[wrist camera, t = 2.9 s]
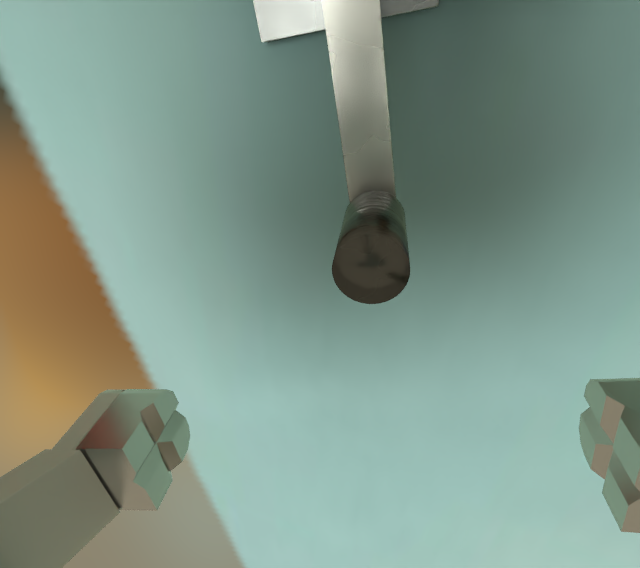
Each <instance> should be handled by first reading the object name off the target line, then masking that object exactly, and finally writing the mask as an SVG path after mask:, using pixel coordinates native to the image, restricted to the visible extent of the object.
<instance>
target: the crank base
mask: <svg viewBox="0 0 640 568" xmlns="http://www.w3.org/2000/svg"><path fill="white" fill-rule="evenodd" d="M253 3H254V8H255V13H256V18H257V22H258V27H259V32H260V37H261V42H270V41H275V40H280V39H284V38H289V37H294V36H299V35H304V34H309V33H313V32H318V31H323V30H326V28H325V21H324V14H323V6H322V0H253ZM438 5H439V0H380V9H381V18H386V17H390V16H395V15H400V14H405V13H410V12H414V11H419V10H424V9H429V8H434V7H437V6H438Z"/></svg>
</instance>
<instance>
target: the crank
mask: <svg viewBox="0 0 640 568" xmlns="http://www.w3.org/2000/svg"><path fill="white" fill-rule="evenodd" d="M322 6H323V14H324V21H325V28H326V35H327V42H328V50H329V57H330V64H331V71H332V78H333V86H334V93H335V100H336V107H337V114H338V122H339V129H340V136H341V143H342V150H343V158H344V165H345V172H346V179H347V186H348V194H349V201H350V204H349V205H348V207H347V210H346V213H345V217H344V221H343V225H342V229H341V232H340V236H339V240H338V244H337V248H336V252H335V256H334V260H333V265H332V274H333V278H334V281H335V283H336V285H337V287H338V288H339V289H340V290H341V291H342V292H343V293H344V294H345V295H346V296H347V297H349V298H351V299H353V300H355V301H358V302H361V303H367V304H376V303H382V302H386V301H388V300H390V299H392V298H394V297H396V296H397V295H398V294H399V293H400V292H401V291H402V290H403V289H404V288H405V286H406V284H407V282H408V279H409V275H410V263H409V253H408V242H407V232H406V221H405V213H404V209H403V207H402V205H401V203H400V202H399V201H398V200H397V199H396V191H395V178H394V166H393V154H392V142H391V130H390V118H389V106H388V93H387V81H386V69H385V57H384V45H383V33H382V21H381V9H380V0H322Z"/></svg>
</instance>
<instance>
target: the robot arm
mask: <svg viewBox="0 0 640 568" xmlns="http://www.w3.org/2000/svg"><path fill="white" fill-rule="evenodd" d="M584 397H585V399H586V401H587V402H588V404H589V406H590V407H589V408H588V409H587V410H586V411H584V412H583V413H582V414H581V416H580V424H579V433H580V441H581V446H582V449H583V452H584V455H585V458H586V460H587V462H588V464H589V466H590V469H592V470H593V471H594V472H596V473H597V474H598V475H599V476H601V477H602V478H603V479H605V482H604V486H603V491H602V494H603V496H604V498H605V500H606V502H607V504H608V506H609V508H610V510H611V512H612V514H613V516H614V518H615V520H616V522H617V524H618V526H619V528H620V530H621V532H636V533H640V378H620V379H590V381H589V382H588V383H587V385H586V389H585V394H584ZM178 403H179V402H178V400H177V398H176V396H175V394H174V392H173V391H170V390H166V389H127V390H106V391H104V392H102V393H100V394H99V395H98V396H97V397H96V398H95V399H94V401H93V402H92V403H91V404H90V405H89V406H88V408H87V409H86V410H85V411H84V412H83V413H82V415H81V416H80V417H79V418H78V419H77V420H76V422H75V423H74V424H73V425H72V426H71V427H70V429H69V430H68V431H67V432H66V433H65V434H64V436H63V437H62V438H61V439H60V440H59V442H58V443H57V444H56V445H55V446H54V447H53V448H52V449H50V450H44V451H42V452H40V453H39V454H37V455H36V456H34V457H32V458H31V459H29V460H27V461H26V462H24V463H23V464H21V465H19V466H18V467H16V468H14V469H13V470H11V471H10V472H8V473H6V474H5V475H3V476H2V477H0V568H62V567H63V566H64V565H65V564H66V563H67V562H69V561H70V560H71V559H72V558H73V557H74V556H75V555H76V554H77V553H78V552H79V551H80V550H81V549H82V548H83V547H84V546H85V545H86V544H87V543H88V542H89V541H90V540H92V539H93V538H94V537H95V536H96V535H97V534H98V533H99V532H100V531H101V530H102V529H103V528H104V527H105V526H106V525H107V524H108V523H109V522H110V521H112V519H114V518H115V517H116V516H117V515H118V514H119V513H120V511H119V510H158V508H159V506H160V504H161V502H162V500H163V498H164V496H165V494H166V492H167V490H168V488H169V486H170V484H171V482H172V475H171V470H172V469H174V468H175V467H176V466H177V465H179V464H180V463H181V462H182V461H183V459H184V456H185V454H186V452H187V450H188V445H189V439H190V431H189V425H188V423H187V420H186V418H185V417H184V416H183V415H181V414H180V413H179V412H178V411H176V408H177V405H178Z"/></svg>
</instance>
